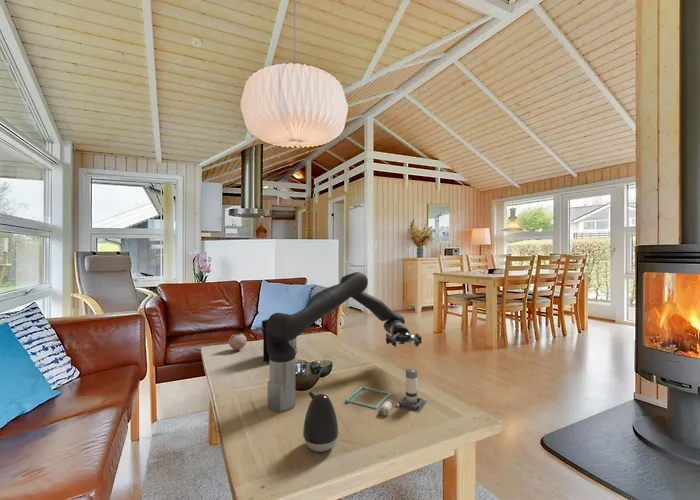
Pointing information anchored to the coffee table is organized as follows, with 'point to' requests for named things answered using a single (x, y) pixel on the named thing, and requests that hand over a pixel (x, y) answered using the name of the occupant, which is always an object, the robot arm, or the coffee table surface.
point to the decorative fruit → (237, 341)
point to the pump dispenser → (320, 423)
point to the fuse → (386, 407)
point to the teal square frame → (356, 393)
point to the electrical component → (265, 352)
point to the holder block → (411, 407)
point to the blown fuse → (411, 386)
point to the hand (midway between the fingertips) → (406, 344)
